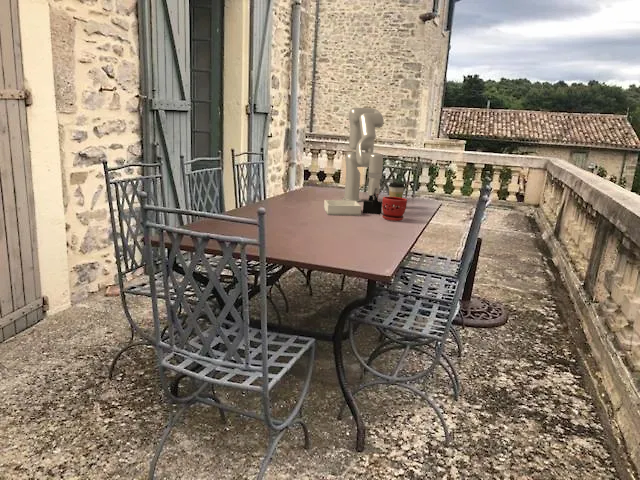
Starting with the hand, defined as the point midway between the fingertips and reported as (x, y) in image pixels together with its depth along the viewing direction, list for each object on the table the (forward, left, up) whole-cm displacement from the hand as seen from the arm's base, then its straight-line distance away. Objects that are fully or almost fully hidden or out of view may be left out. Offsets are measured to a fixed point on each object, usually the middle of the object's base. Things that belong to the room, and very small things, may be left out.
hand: (372, 205), depth 279 cm
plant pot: (+16, +8, -5) cm, 19 cm away
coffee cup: (-21, +19, -5) cm, 28 cm away
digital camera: (0, 0, -5) cm, 5 cm away
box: (0, -18, -5) cm, 19 cm away
